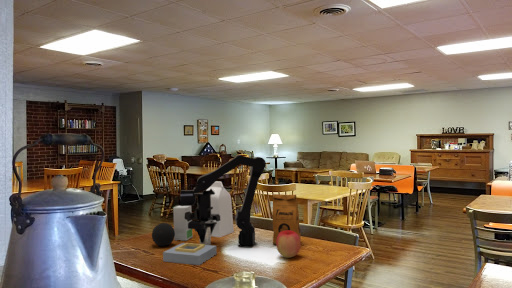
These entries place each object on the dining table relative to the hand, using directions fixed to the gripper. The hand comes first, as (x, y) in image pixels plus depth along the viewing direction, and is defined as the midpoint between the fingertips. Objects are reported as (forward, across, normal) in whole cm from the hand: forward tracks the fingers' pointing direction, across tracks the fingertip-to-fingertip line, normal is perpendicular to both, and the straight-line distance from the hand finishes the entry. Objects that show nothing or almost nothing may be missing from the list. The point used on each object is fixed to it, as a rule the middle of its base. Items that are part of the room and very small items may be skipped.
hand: (205, 241), depth 165 cm
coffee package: (+3, -16, +32) cm, 36 cm away
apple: (+3, +2, +38) cm, 38 cm away
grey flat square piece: (+3, +14, +1) cm, 14 cm away
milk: (+3, -25, -7) cm, 26 cm away
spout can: (+3, 0, -1) cm, 3 cm away
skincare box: (+3, -11, -18) cm, 21 cm away
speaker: (+3, +2, -20) cm, 20 cm away
